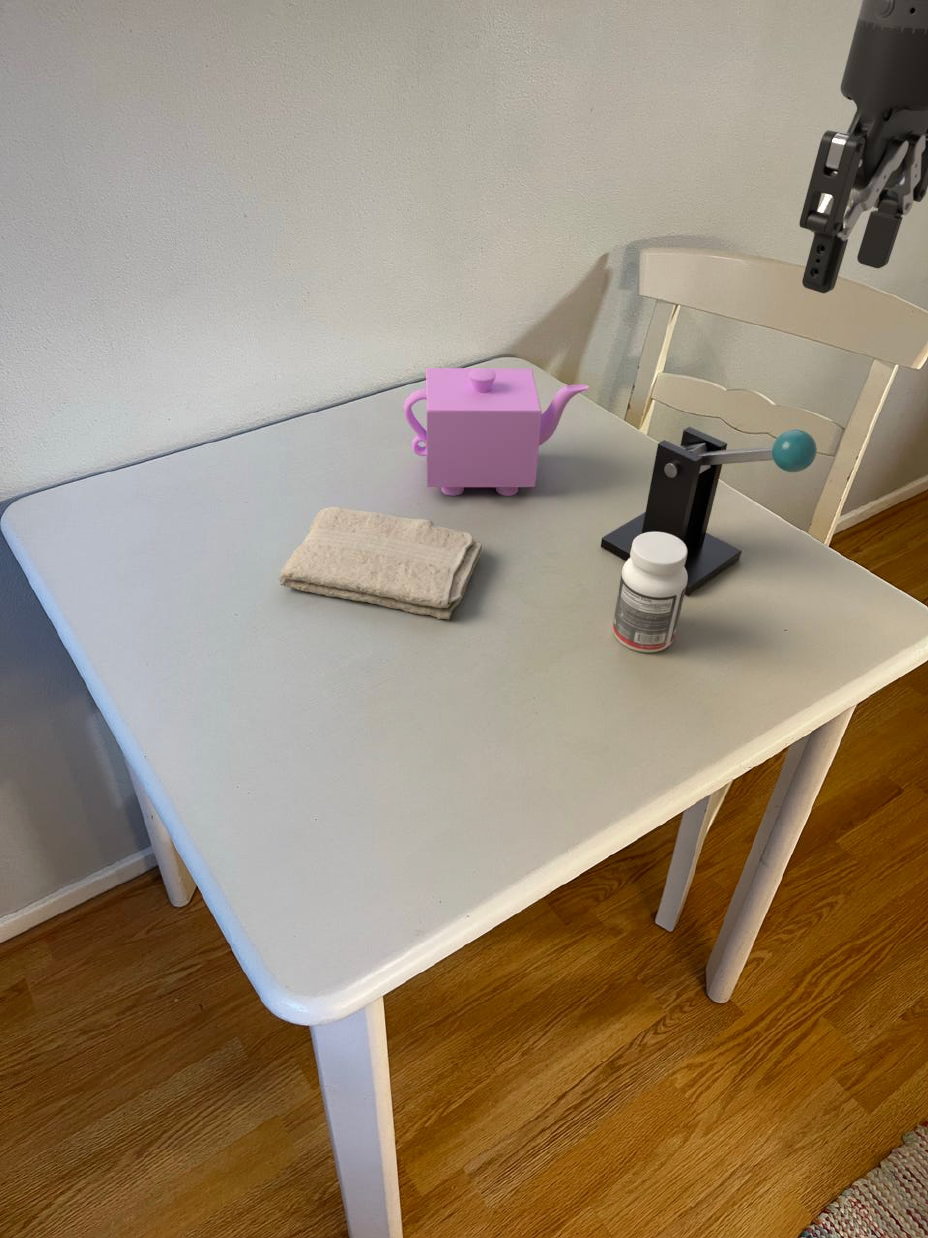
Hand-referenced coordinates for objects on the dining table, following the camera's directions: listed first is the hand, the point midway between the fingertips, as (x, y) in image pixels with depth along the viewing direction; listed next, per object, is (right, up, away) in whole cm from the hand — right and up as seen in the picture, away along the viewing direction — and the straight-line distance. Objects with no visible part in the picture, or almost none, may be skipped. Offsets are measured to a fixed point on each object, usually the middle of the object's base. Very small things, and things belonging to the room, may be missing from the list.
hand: (844, 276), depth 67 cm
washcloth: (-36, -21, +22) cm, 47 cm away
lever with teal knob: (-3, -12, +14) cm, 19 cm away
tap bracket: (-7, -19, +25) cm, 32 cm away
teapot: (-25, -9, +36) cm, 45 cm away
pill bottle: (-12, -27, +16) cm, 34 cm away
